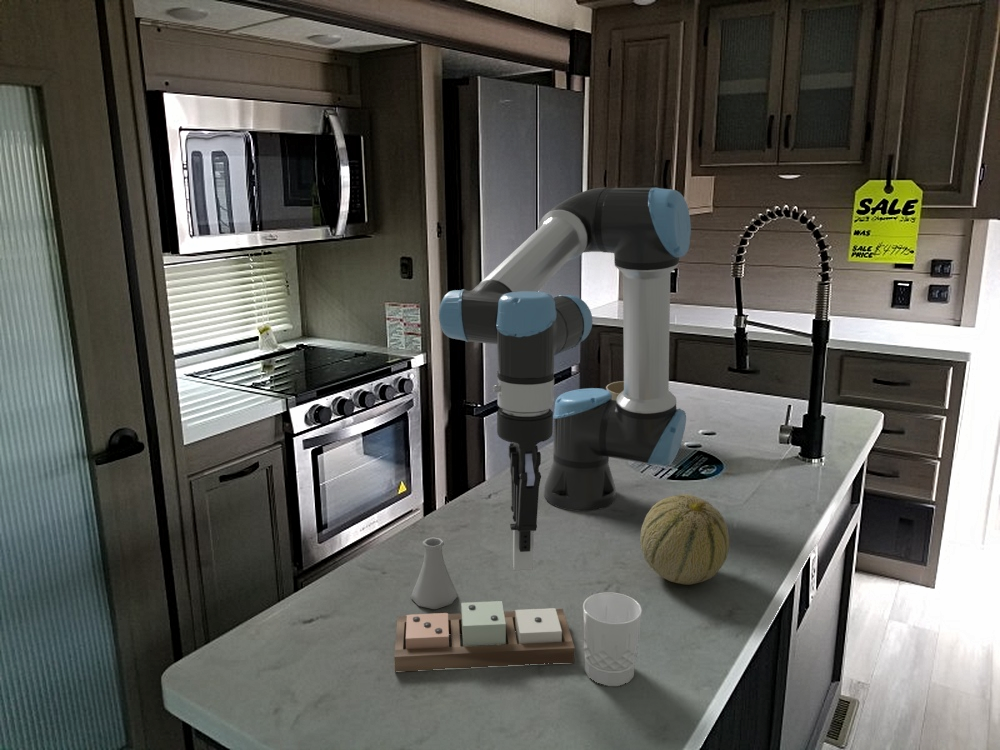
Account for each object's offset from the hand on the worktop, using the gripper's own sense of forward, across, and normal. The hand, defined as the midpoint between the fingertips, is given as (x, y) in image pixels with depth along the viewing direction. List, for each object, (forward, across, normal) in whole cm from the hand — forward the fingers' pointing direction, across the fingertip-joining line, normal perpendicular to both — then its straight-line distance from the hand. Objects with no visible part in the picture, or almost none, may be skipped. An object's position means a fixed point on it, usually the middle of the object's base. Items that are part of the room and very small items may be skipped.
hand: (522, 567), depth 109 cm
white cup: (+13, +7, +11) cm, 19 cm away
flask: (+13, -14, -12) cm, 23 cm away
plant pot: (+13, -80, +39) cm, 89 cm away
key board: (+13, 0, -6) cm, 14 cm away
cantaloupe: (+13, -17, +30) cm, 36 cm away
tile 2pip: (+10, 0, -6) cm, 12 cm away
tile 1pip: (+12, 0, +2) cm, 12 cm away
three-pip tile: (+12, 0, -14) cm, 18 cm away
